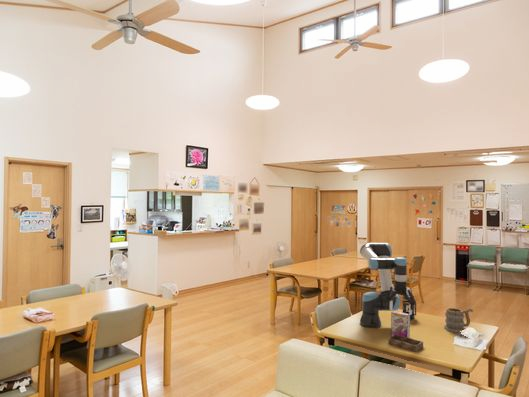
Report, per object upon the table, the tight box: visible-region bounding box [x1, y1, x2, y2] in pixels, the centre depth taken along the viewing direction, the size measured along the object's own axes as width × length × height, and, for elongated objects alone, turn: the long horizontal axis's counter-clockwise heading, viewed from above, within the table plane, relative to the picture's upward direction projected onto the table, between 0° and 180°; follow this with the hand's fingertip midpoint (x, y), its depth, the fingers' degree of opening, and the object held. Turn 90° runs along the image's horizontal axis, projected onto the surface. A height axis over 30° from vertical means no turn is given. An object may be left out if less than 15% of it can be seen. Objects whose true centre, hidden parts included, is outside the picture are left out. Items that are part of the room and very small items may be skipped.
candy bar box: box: [390, 310, 411, 338], centre depth 256 cm, size 11×5×16 cm, turn 51°
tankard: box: [443, 307, 474, 333], centre depth 273 cm, size 20×13×15 cm, turn 91°
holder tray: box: [387, 335, 424, 352], centre depth 241 cm, size 18×10×4 cm, turn 45°
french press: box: [401, 287, 417, 320], centre depth 301 cm, size 12×9×23 cm
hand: (400, 312), depth 255 cm, fingers open, 13 cm apart
